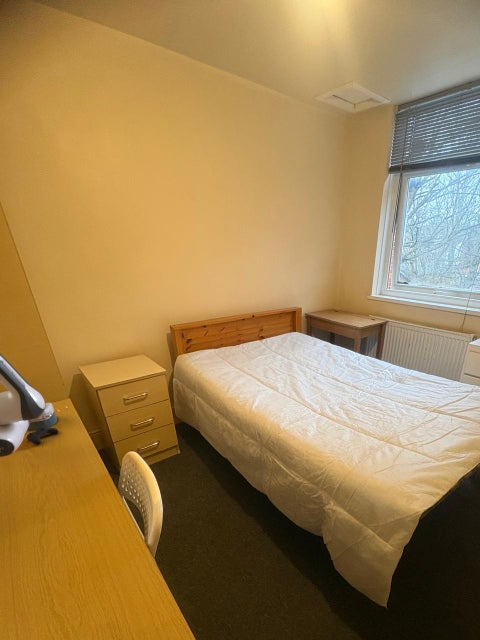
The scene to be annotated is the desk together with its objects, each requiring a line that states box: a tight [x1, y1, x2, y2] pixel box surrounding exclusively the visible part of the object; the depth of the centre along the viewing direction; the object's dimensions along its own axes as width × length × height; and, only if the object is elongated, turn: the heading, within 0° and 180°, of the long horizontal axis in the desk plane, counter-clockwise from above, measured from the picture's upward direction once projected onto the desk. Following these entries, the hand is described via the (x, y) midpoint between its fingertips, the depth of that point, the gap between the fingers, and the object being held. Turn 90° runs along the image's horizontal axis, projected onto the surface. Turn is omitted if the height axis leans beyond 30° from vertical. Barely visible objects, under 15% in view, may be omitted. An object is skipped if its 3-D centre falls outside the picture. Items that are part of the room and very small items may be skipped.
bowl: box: [27, 410, 58, 431], centre depth 130 cm, size 11×11×6 cm
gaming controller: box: [26, 426, 60, 446], centre depth 122 cm, size 10×5×6 cm
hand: (21, 405), depth 116 cm, fingers open, 8 cm apart
